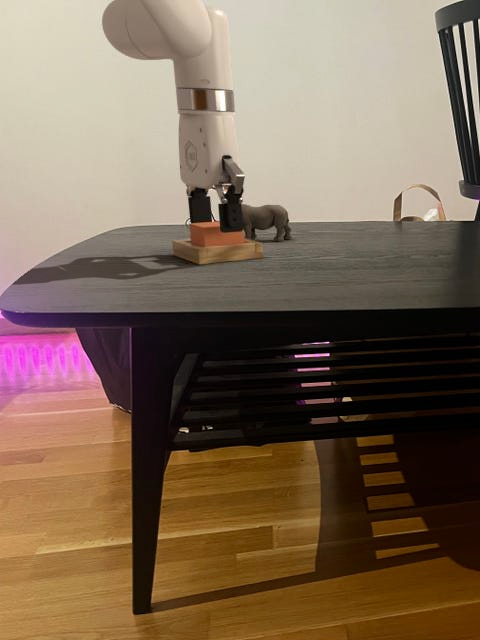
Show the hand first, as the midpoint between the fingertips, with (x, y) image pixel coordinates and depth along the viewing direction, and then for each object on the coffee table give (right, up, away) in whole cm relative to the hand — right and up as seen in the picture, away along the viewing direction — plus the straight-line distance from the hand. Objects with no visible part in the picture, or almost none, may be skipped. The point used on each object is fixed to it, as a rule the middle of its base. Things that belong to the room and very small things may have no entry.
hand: (216, 227), depth 103 cm
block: (0, -3, +1) cm, 4 cm away
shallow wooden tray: (0, -4, +1) cm, 4 cm away
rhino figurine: (0, +1, +16) cm, 16 cm away
